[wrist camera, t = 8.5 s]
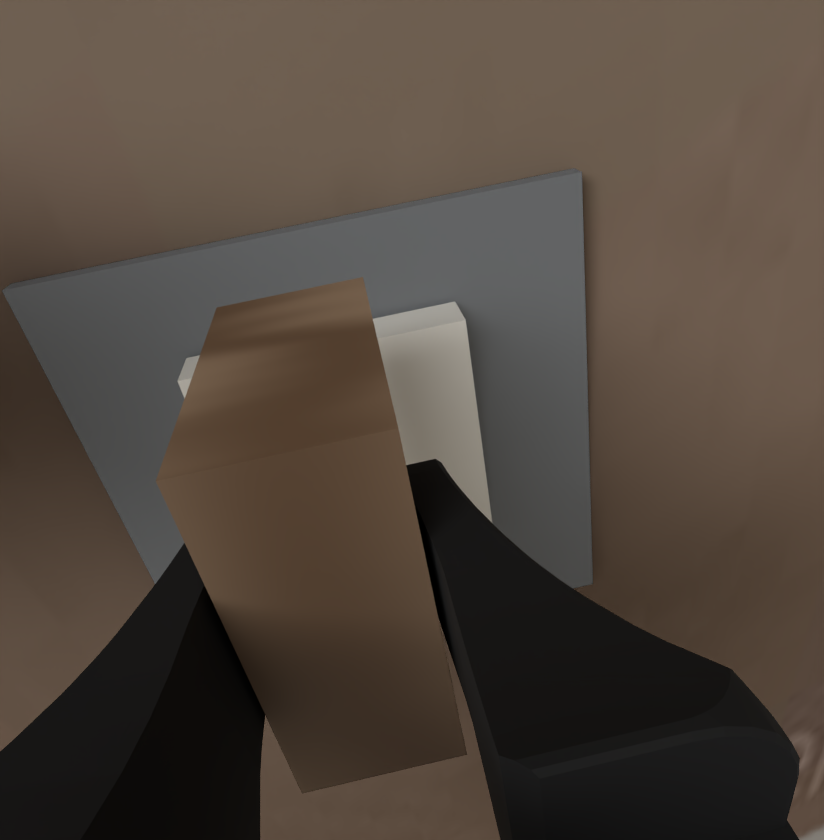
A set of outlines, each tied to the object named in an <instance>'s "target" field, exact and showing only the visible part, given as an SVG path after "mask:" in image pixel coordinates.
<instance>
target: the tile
mask: <svg viewBox="0 0 824 840" xmlns="http://www.w3.org/2000/svg"><path fill="white" fill-rule="evenodd" d="M373 322H374V326H375V331H376V335H377V339H378V343H379V348H380V352H381V356H382V361H383V365H384V369H385V373H386V378H387V382H388V386H389V390H390V395H391V399H392V403H393V407H394V412H395V416H396V420H397V424H398V429H399V433H400V438H401V443H402V448H403V452H404V457H405V462H406V465H409V464H414V463H418V462H423V461H427V460H432V459H437V460H438V461H440V462H441V463H442V464H443V466H444V467H445V469H446V470H447V472H448V473H449V475H450V476H451V477H452V479H453V480H454V481H455V483H456V484H457V485H458V487H459V488H460V489H461V490H462V491H463V492H464V494H465V495H466V496H467V497H468V498H469V499H470V501H471V502H472V503H473V504H474V505H475V506H476V507H477V508H478V509H479V510H480V511H481V512H482V513H483V514H484V515H485V516H486V517H487V518H488V519H489V520H490V521H491V522H492V516H491V509H490V501H489V494H488V486H487V478H486V471H485V463H484V456H483V448H482V440H481V433H480V425H479V418H478V410H477V402H476V395H475V387H474V379H473V372H472V364H471V357H470V349H469V341H468V334H467V326H466V320H465V318H464V316H463V314H462V313H461V311H460V309H459V307H458V306H457V304H456V302H450V303H445V304H441V305H436V306H431V307H426V308H422V309H417V310H412V311H407V312H403V313H398V314H393V315H388V316H384V317H379V318H374V319H373ZM199 356H200V355H198V356H194V357H189V358H186V360H185V363H184V366H183V368H182V371H181V373H180V376H179V378H178V384H179V386H180V389H181V391H182V394H183V396H184V399H185V396H186V393H187V390H188V388H189V385H190V382H191V379H192V376H193V373H194V370H195V368H196V365H197V362H198V359H199Z"/></svg>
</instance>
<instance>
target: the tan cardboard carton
mask: <svg viewBox="0 0 824 840" xmlns="http://www.w3.org/2000/svg"><path fill="white" fill-rule="evenodd" d="M156 483H157V485H158V487H159V489H160V491H161V493H162V496H163V498H164V500H165V502H166V504H167V506H168V508H169V511H170V513H171V515H172V517H173V519H174V521H175V523H176V525H177V528H178V530H179V532H180V534H181V536H182V538H183V540H184V543H185V545H186V547H187V549H188V551H189V553H190V555H191V557H192V560H193V562H194V564H195V566H196V568H197V570H198V572H199V575H200V577H201V579H202V581H203V583H204V585H205V587H206V589H207V592H208V594H209V596H210V598H211V600H212V602H213V604H214V607H215V609H216V611H217V613H218V615H219V617H220V619H221V621H222V624H223V626H224V628H225V630H226V632H227V634H228V636H229V639H230V641H231V643H232V645H233V647H234V649H235V651H236V653H237V656H238V658H239V660H240V662H241V664H242V666H243V668H244V670H245V673H246V675H247V677H248V679H249V681H250V683H251V685H252V688H253V690H254V692H255V694H256V696H257V698H258V700H259V702H260V705H261V707H262V709H263V711H264V713H265V715H266V717H267V720H268V722H269V724H270V726H271V728H272V730H273V732H274V734H275V737H276V739H277V741H278V743H279V745H280V747H281V749H282V752H283V754H284V756H285V758H286V760H287V762H288V764H289V766H290V769H291V771H292V773H293V775H294V777H295V779H296V781H297V784H298V786H299V788H300V790H301V792H302V793H306V792H310V791H315V790H319V789H323V788H327V787H332V786H336V785H340V784H344V783H348V782H353V781H357V780H361V779H365V778H370V777H374V776H378V775H382V774H387V773H391V772H395V771H399V770H404V769H408V768H412V767H416V766H421V765H425V764H429V763H433V762H438V761H442V760H446V759H450V758H455V757H459V756H463V755H467V752H466V747H465V743H464V738H463V733H462V728H461V724H460V719H459V714H458V709H457V705H456V700H455V695H454V690H453V686H452V681H451V676H450V671H449V667H448V662H447V657H446V652H445V648H444V643H443V638H442V633H441V629H440V624H439V619H438V614H437V609H436V605H435V600H434V595H433V590H432V586H431V581H430V576H429V571H428V567H427V562H426V557H425V552H424V548H423V543H422V538H421V533H420V529H419V524H418V519H417V514H416V510H415V505H414V500H413V495H412V490H411V486H410V481H409V476H408V471H407V467H406V462H405V457H404V452H403V448H402V443H401V438H400V433H399V429H398V424H397V420H396V416H395V412H394V407H393V403H392V399H391V395H390V390H389V386H388V382H387V378H386V373H385V369H384V365H383V361H382V356H381V352H380V348H379V343H378V339H377V335H376V331H375V326H374V322H373V318H372V314H371V309H370V305H369V301H368V297H367V292H366V288H365V284H364V280H363V277H361V278H356V279H351V280H346V281H341V282H337V283H332V284H327V285H322V286H317V287H313V288H308V289H303V290H298V291H293V292H289V293H284V294H279V295H274V296H269V297H265V298H260V299H255V300H250V301H245V302H241V303H236V304H231V305H226V306H222V307H217V308H216V311H215V313H214V316H213V319H212V322H211V325H210V328H209V331H208V333H207V336H206V339H205V342H204V345H203V348H202V350H201V353H200V356H199V359H198V362H197V365H196V368H195V370H194V373H193V376H192V379H191V382H190V385H189V388H188V390H187V393H186V396H185V399H184V402H183V405H182V407H181V410H180V413H179V416H178V419H177V422H176V425H175V427H174V430H173V433H172V436H171V439H170V442H169V444H168V447H167V450H166V453H165V456H164V459H163V462H162V464H161V467H160V470H159V473H158V476H157V479H156Z"/></svg>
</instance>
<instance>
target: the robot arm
mask: <svg viewBox="0 0 824 840" xmlns="http://www.w3.org/2000/svg"><path fill="white" fill-rule="evenodd" d="M406 467H407V471H408V476H409V481H410V486H411V490H412V495H413V500H414V505H415V510H416V514H417V519H418V524H419V529H420V533H421V538H422V543H423V548H424V552H425V557H426V562H427V567H428V571H429V576H430V581H431V586H432V590H433V595H434V600H435V605H436V609H437V614H438V618H439V621H440V624H441V627H442V630H443V633H444V635H445V638H446V641H447V644H448V647H449V650H450V653H451V656H452V659H453V662H454V665H455V668H456V671H457V674H458V677H459V680H460V683H461V686H462V689H463V692H464V695H465V698H466V701H467V705H468V708H469V711H470V715H471V718H472V722H473V726H474V730H475V734H476V738H477V742H478V747H479V751H480V755H481V759H482V763H483V767H484V772H485V776H486V780H487V784H488V788H489V793H490V797H491V801H492V805H493V810H494V814H495V818H496V822H497V826H498V831H499V835H500V839H501V840H799V839H798V837H797V836H796V834H795V832H794V831H793V829H792V827H791V826H790V824H789V823H788V821H787V817H788V813H789V810H790V806H791V802H792V798H793V795H794V791H795V787H796V783H797V779H798V775H799V756H798V754H797V752H796V750H795V748H794V746H793V744H792V743H791V741H790V740H789V738H788V737H787V735H786V734H785V732H784V731H783V729H782V728H781V727H780V725H779V724H778V723H777V721H776V720H775V718H774V717H773V716H772V715H771V713H770V712H769V711H768V710H767V709H766V707H765V706H764V705H763V704H762V703H761V702H760V701H759V699H758V698H757V697H756V696H755V695H754V694H753V693H752V691H751V690H750V689H749V688H748V687H747V686H746V685H745V684H744V682H743V681H742V680H741V679H740V678H739V677H738V676H737V675H736V674H735V673H734V671H733V670H732V669H730V668H728V667H725V666H723V665H721V664H718V663H716V662H714V661H711V660H709V659H706V658H704V657H702V656H699V655H697V654H695V653H692V652H690V651H688V650H685V649H683V648H680V647H678V646H676V645H673V644H671V643H669V642H666V641H664V640H662V639H660V638H658V637H656V636H654V635H652V634H650V633H648V632H646V631H644V630H642V629H640V628H638V627H636V626H634V625H632V624H631V623H629V622H627V621H625V620H624V619H622V618H620V617H619V616H617V615H615V614H614V613H612V612H610V611H608V610H607V609H605V608H603V607H602V606H600V605H598V604H597V603H595V602H593V601H591V600H590V599H588V598H586V597H585V596H583V595H582V594H580V593H579V592H577V591H576V590H574V589H573V588H571V587H570V586H568V585H567V584H565V583H564V582H562V581H561V580H560V579H558V578H557V577H555V576H554V575H553V574H551V573H550V572H549V571H547V570H546V569H545V568H543V567H542V566H541V565H539V564H538V563H537V562H536V561H534V560H533V559H532V558H531V557H529V556H528V555H527V554H526V553H525V552H523V551H522V550H521V549H520V548H519V547H518V546H516V545H515V544H514V543H513V542H512V541H511V540H510V539H508V538H507V537H506V536H505V535H504V534H503V533H502V532H501V531H500V530H499V529H498V528H497V527H496V526H495V525H493V523H492V522H491V521H490V520H489V519H488V518H487V517H486V516H485V515H484V514H483V513H482V512H481V511H480V510H479V509H478V508H477V507H476V506H475V505H474V504H473V503H472V502H471V501H470V499H469V498H468V497H467V496H466V495H465V494H464V492H463V491H462V490H461V489H460V488H459V487H458V485H457V484H456V483H455V481H454V480H453V479H452V477H451V476H450V475H449V473H448V472H447V470H446V469H445V467H444V466H443V464H442V463H441V462H440V461H438V460H437V459H432V460H427V461H423V462H418V463H414V464H409V465H406ZM264 720H265V713H264V711H263V709H262V707H261V705H260V702H259V700H258V698H257V696H256V694H255V692H254V690H253V688H252V685H251V683H250V681H249V679H248V677H247V675H246V673H245V670H244V668H243V666H242V664H241V662H240V660H239V658H238V656H237V653H236V651H235V649H234V647H233V645H232V643H231V641H230V639H229V636H228V634H227V632H226V630H225V628H224V626H223V624H222V621H221V619H220V617H219V615H218V613H217V611H216V609H215V607H214V604H213V602H212V600H211V598H210V596H209V594H208V592H207V589H206V587H205V585H204V583H203V581H202V579H201V577H200V575H199V572H198V570H197V568H196V566H195V564H194V562H193V560H192V557H191V555H190V553H189V551H188V549H187V547H186V545H185V543H184V544H183V545H182V547H181V548H180V550H179V551H178V553H177V554H176V556H175V557H174V559H173V560H172V561H171V563H170V564H169V566H168V567H167V569H166V570H165V571H164V573H163V574H162V575H161V577H160V578H159V580H158V581H157V582H156V584H155V585H154V587H153V588H152V589H151V591H150V592H149V593H148V595H147V596H146V597H145V598H144V600H143V601H142V602H141V604H140V605H139V606H138V607H137V609H136V610H135V611H134V612H133V614H132V615H131V616H130V618H129V619H128V620H127V621H126V623H125V624H124V625H123V626H122V628H121V629H120V630H119V631H118V633H117V634H116V635H115V636H114V638H113V639H112V640H111V641H110V642H109V643H108V645H107V646H106V647H105V648H104V649H103V650H102V651H101V653H100V654H99V655H98V656H97V657H96V658H95V659H94V660H93V662H92V663H91V664H90V665H89V666H88V667H87V668H86V669H85V670H84V671H83V672H82V673H81V674H80V675H79V677H78V678H77V679H76V680H75V681H74V682H73V683H72V684H71V685H70V686H69V687H68V688H67V689H66V690H65V691H64V692H63V693H62V694H61V695H60V696H59V697H58V698H57V699H56V700H55V701H54V702H53V703H52V704H51V705H50V706H49V707H48V708H47V709H45V710H44V711H43V712H42V713H41V714H40V715H39V716H38V717H37V718H36V719H35V720H34V721H33V722H32V723H31V724H30V725H29V726H28V727H26V728H25V729H24V730H23V731H22V732H21V733H20V734H19V735H18V736H17V737H16V738H15V739H14V740H13V741H12V742H11V743H9V744H8V745H7V746H6V747H5V748H4V749H3V750H2V751H0V840H260V768H261V751H262V740H263V730H264Z"/></svg>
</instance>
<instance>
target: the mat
mask: <svg viewBox="0 0 824 840" xmlns="http://www.w3.org/2000/svg"><path fill="white" fill-rule="evenodd" d="M361 277H363V280H364V284H365V288H366V292H367V297H368V301H369V305H370V309H371V314H372V318H373V319H374V318H379V317H384V316H388V315H393V314H398V313H403V312H407V311H412V310H417V309H422V308H426V307H431V306H436V305H441V304H445V303H450V302H456V304H457V306H458V307H459V309H460V311H461V313H462V314H463V316H464V318H465V320H466V326H467V334H468V341H469V349H470V357H471V364H472V372H473V379H474V387H475V395H476V402H477V410H478V418H479V425H480V433H481V440H482V448H483V456H484V463H485V471H486V478H487V486H488V494H489V501H490V509H491V516H492V523H493V525H495V526H496V527H497V528H498V529H499V530H500V531H501V532H502V533H503V534H504V535H505V536H506V537H507V538H508V539H510V540H511V541H512V542H513V543H514V544H515V545H516V546H518V547H519V548H520V549H521V550H522V551H523V552H525V553H526V554H527V555H528V556H529V557H531V558H532V559H533V560H534V561H536V562H537V563H538V564H539V565H541V566H542V567H543V568H545V569H546V570H547V571H549V572H550V573H551V574H553V575H554V576H555V577H557V578H558V579H560V580H561V581H562V582H564V583H565V584H567V585H568V586H570V587H571V588H577V587H582V586H586V585H590V584H593V571H592V533H591V496H590V458H589V420H588V383H587V345H586V308H585V270H584V233H583V195H582V172H581V171H579V170H577V169H575V168H573V169H569V170H564V171H559V172H554V173H549V174H544V175H539V176H534V177H529V178H525V179H520V180H515V181H510V182H505V183H500V184H495V185H490V186H485V187H481V188H476V189H471V190H466V191H461V192H456V193H451V194H446V195H441V196H437V197H432V198H427V199H422V200H417V201H412V202H407V203H402V204H397V205H393V206H388V207H383V208H378V209H373V210H368V211H363V212H358V213H354V214H349V215H344V216H339V217H334V218H329V219H324V220H319V221H314V222H310V223H305V224H300V225H295V226H290V227H285V228H280V229H275V230H270V231H266V232H261V233H256V234H251V235H246V236H241V237H236V238H231V239H226V240H222V241H217V242H212V243H207V244H202V245H197V246H192V247H187V248H182V249H178V250H173V251H168V252H163V253H158V254H153V255H148V256H143V257H139V258H134V259H129V260H124V261H119V262H114V263H109V264H104V265H99V266H95V267H90V268H85V269H80V270H75V271H70V272H65V273H60V274H55V275H51V276H46V277H41V278H36V279H31V280H26V281H21V282H16V283H11V284H10V285H9V286H7V287H6V288H5V289H3V290H2V292H3V294H4V296H5V297H6V299H7V301H8V303H9V305H10V307H11V309H12V311H13V313H14V315H15V317H16V318H17V320H18V322H19V324H20V326H21V328H22V330H23V332H24V334H25V336H26V338H27V340H28V341H29V343H30V345H31V347H32V349H33V351H34V353H35V355H36V357H37V359H38V361H39V363H40V364H41V366H42V368H43V370H44V372H45V374H46V376H47V378H48V380H49V382H50V384H51V386H52V387H53V389H54V391H55V393H56V395H57V397H58V399H59V401H60V403H61V405H62V407H63V408H64V410H65V412H66V414H67V416H68V418H69V420H70V422H71V424H72V426H73V428H74V430H75V431H76V433H77V435H78V437H79V439H80V441H81V443H82V445H83V447H84V449H85V451H86V453H87V454H88V456H89V458H90V460H91V462H92V464H93V466H94V468H95V470H96V472H97V474H98V476H99V477H100V479H101V481H102V483H103V485H104V487H105V489H106V491H107V493H108V495H109V497H110V498H111V500H112V502H113V504H114V506H115V508H116V510H117V512H118V514H119V516H120V518H121V520H122V521H123V523H124V525H125V527H126V529H127V531H128V533H129V535H130V537H131V539H132V541H133V543H134V544H135V546H136V548H137V550H138V552H139V554H140V556H141V558H142V560H143V562H144V564H145V566H146V567H147V569H148V571H149V573H150V575H151V577H152V579H153V581H154V583H155V584H156V582H157V581H158V580H159V578H160V577H161V575H162V574H163V573H164V571H165V570H166V569H167V567H168V566H169V564H170V563H171V561H172V560H173V559H174V557H175V556H176V554H177V553H178V551H179V550H180V548H181V547H182V545H183V544H184V540H183V538H182V536H181V534H180V532H179V530H178V528H177V525H176V523H175V521H174V519H173V517H172V515H171V513H170V511H169V508H168V506H167V504H166V502H165V500H164V498H163V496H162V493H161V491H160V489H159V487H158V485H157V483H156V479H157V476H158V473H159V470H160V467H161V464H162V462H163V459H164V456H165V453H166V450H167V447H168V444H169V442H170V439H171V436H172V433H173V430H174V427H175V425H176V422H177V419H178V416H179V413H180V410H181V407H182V405H183V402H184V396H183V394H182V391H181V389H180V386H179V384H178V378H179V376H180V373H181V371H182V368H183V366H184V363H185V360H186V358H189V357H194V356H198V355H200V353H201V350H202V348H203V345H204V342H205V339H206V336H207V333H208V331H209V328H210V325H211V322H212V319H213V316H214V313H215V311H216V308H217V307H222V306H226V305H231V304H236V303H241V302H245V301H250V300H255V299H260V298H265V297H269V296H274V295H279V294H284V293H289V292H293V291H298V290H303V289H308V288H313V287H317V286H322V285H327V284H332V283H337V282H341V281H346V280H351V279H356V278H361ZM438 619H439V618H438Z"/></svg>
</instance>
